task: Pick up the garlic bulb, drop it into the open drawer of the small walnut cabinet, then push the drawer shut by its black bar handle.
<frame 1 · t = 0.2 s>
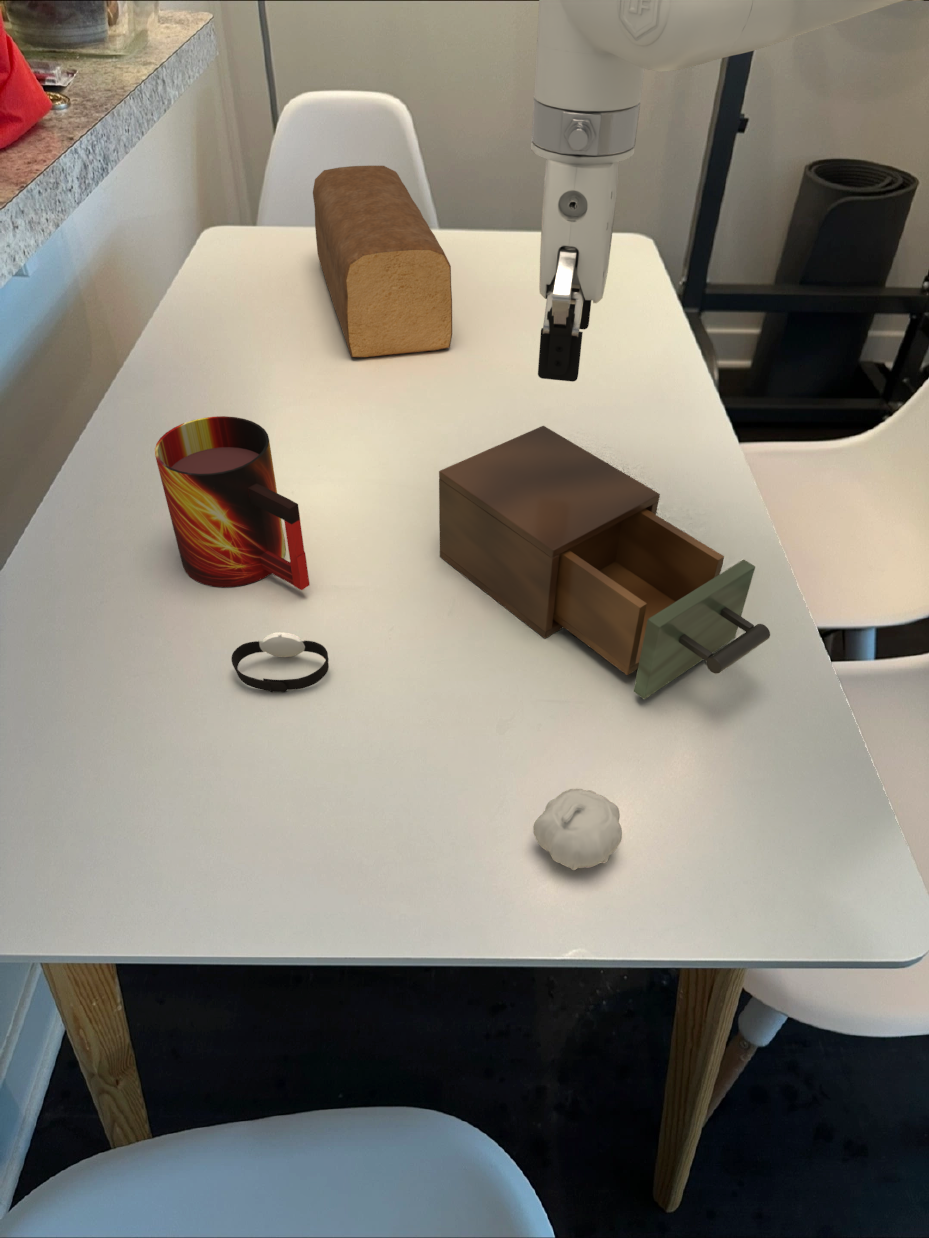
hand: (564, 351, 77), 19 cm above the table, tool pointing down, fingers open, 9 cm apart
mug: (255, 559, 86), on the table
cabinet: (540, 568, 85), on the table
watch: (283, 676, 75), on the table
bread: (380, 305, 130), on the table
garlic: (576, 850, 63), on the table
drawer: (655, 602, 75), point 5 cm above the table, slide at 9.5 cm
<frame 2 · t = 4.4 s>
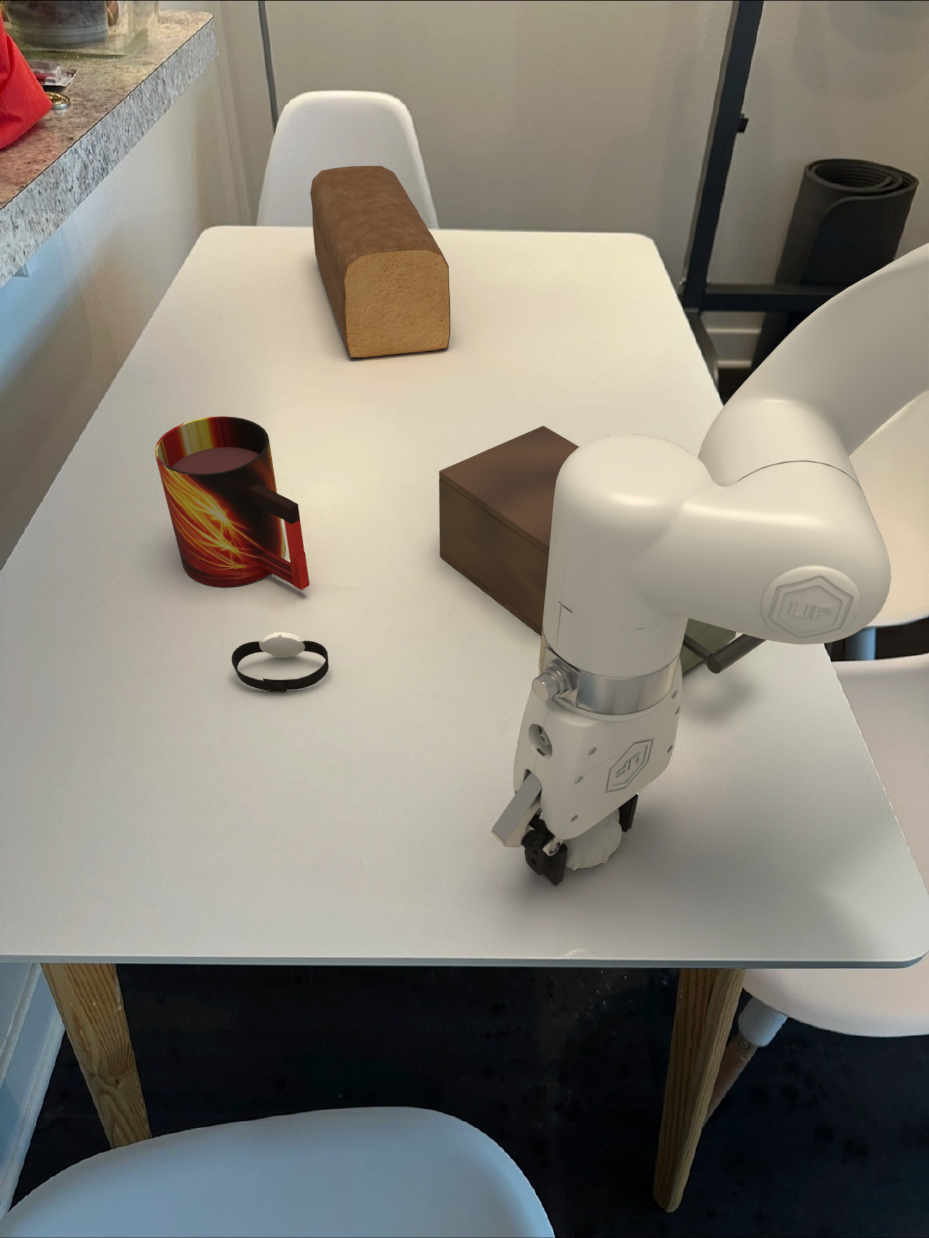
hand: (578, 841, 62), 1 cm above the table, tool pointing down, fingers closed on garlic, 5 cm apart
garlic: (575, 850, 63), on the table, touching gripper
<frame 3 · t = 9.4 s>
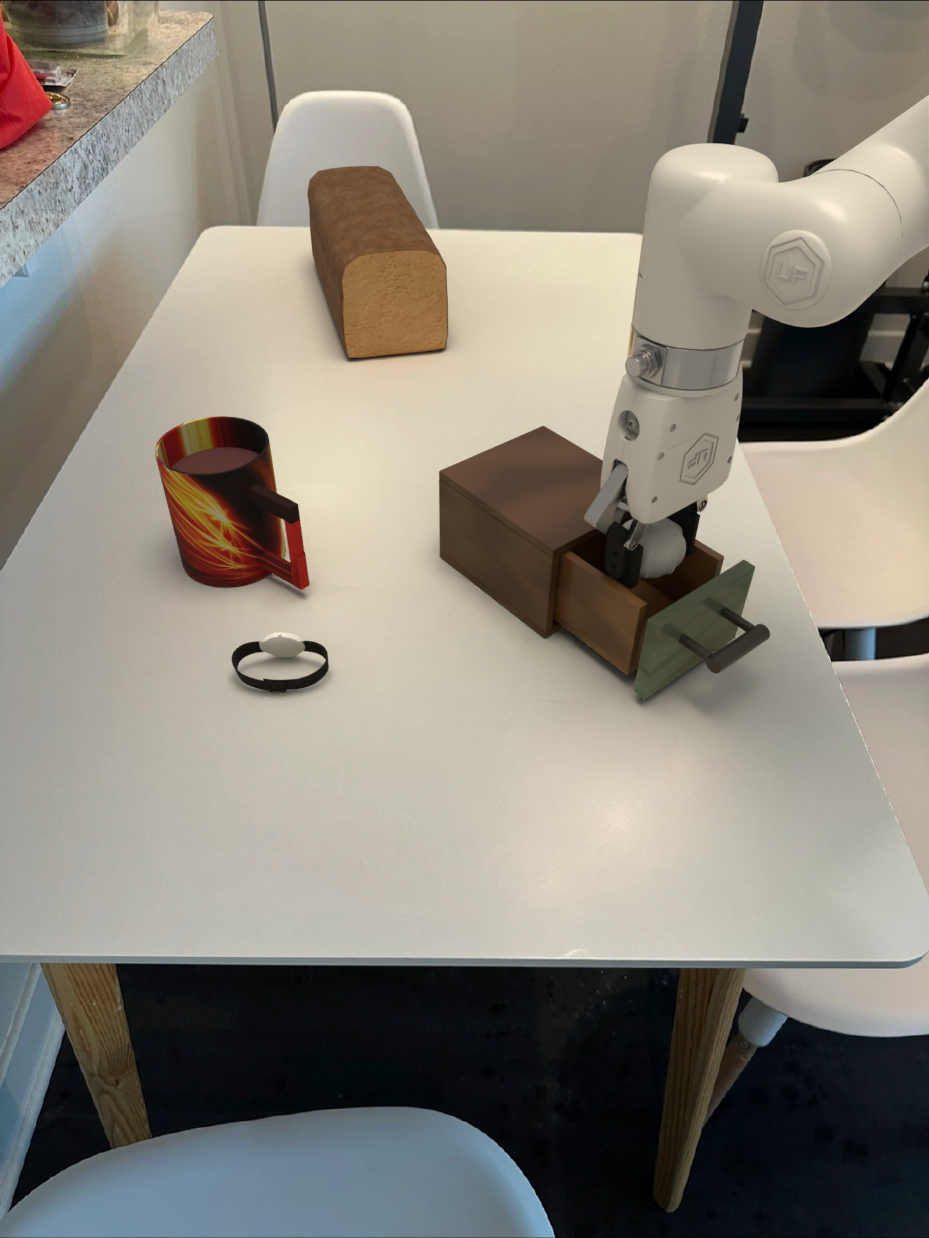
hand: (648, 561, 73), 8 cm above the table, tool pointing down, fingers closed on garlic, 5 cm apart
garlic: (645, 571, 74), point 7 cm above the table, touching gripper
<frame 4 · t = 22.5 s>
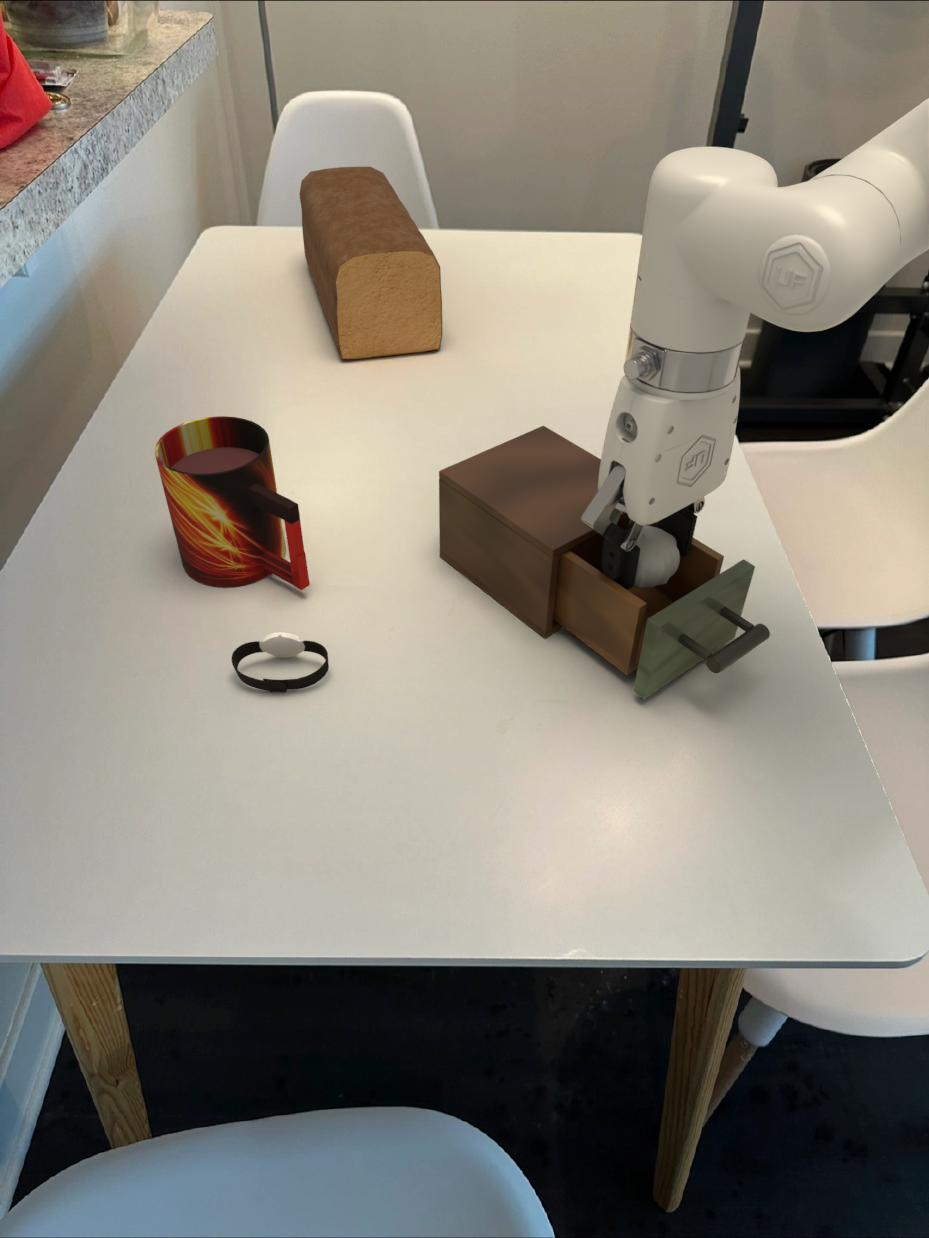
hand: (644, 561, 74), 8 cm above the table, tool pointing down, fingers closed on garlic, 5 cm apart
garlic: (639, 581, 75), point 6 cm above the table, touching gripper
drawer: (655, 602, 75), point 5 cm above the table, slide at 9.5 cm, touching gripper
when the fingers open (9 cm above the table, at t = 23.0 s): garlic drops 5 cm, resting on drawer.
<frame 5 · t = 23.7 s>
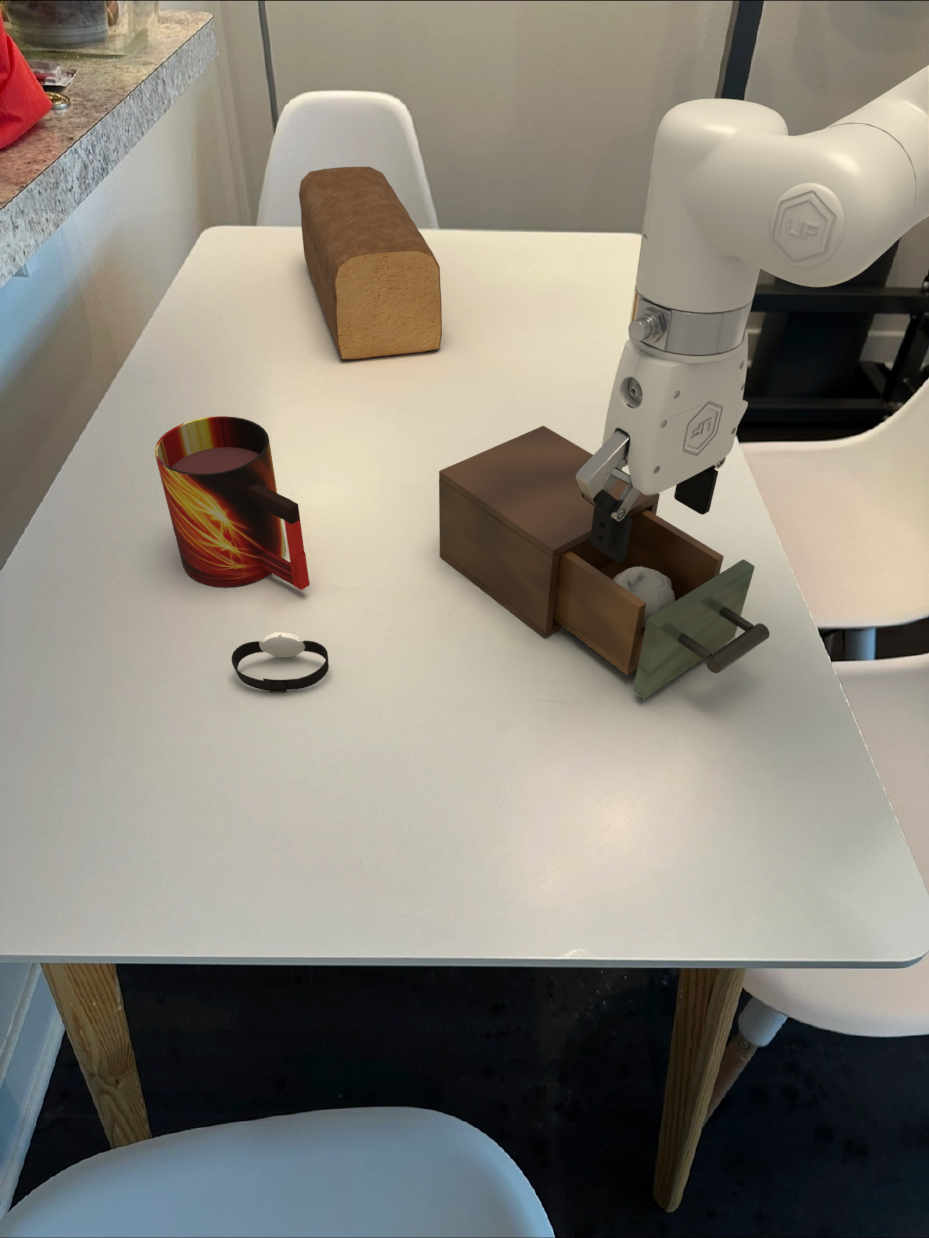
hand: (650, 528, 71), 11 cm above the table, tool pointing down, fingers open, 9 cm apart
garlic: (635, 619, 78), point 2 cm above the table, touching drawer
drawer: (655, 602, 75), point 5 cm above the table, slide at 9.4 cm, touching garlic
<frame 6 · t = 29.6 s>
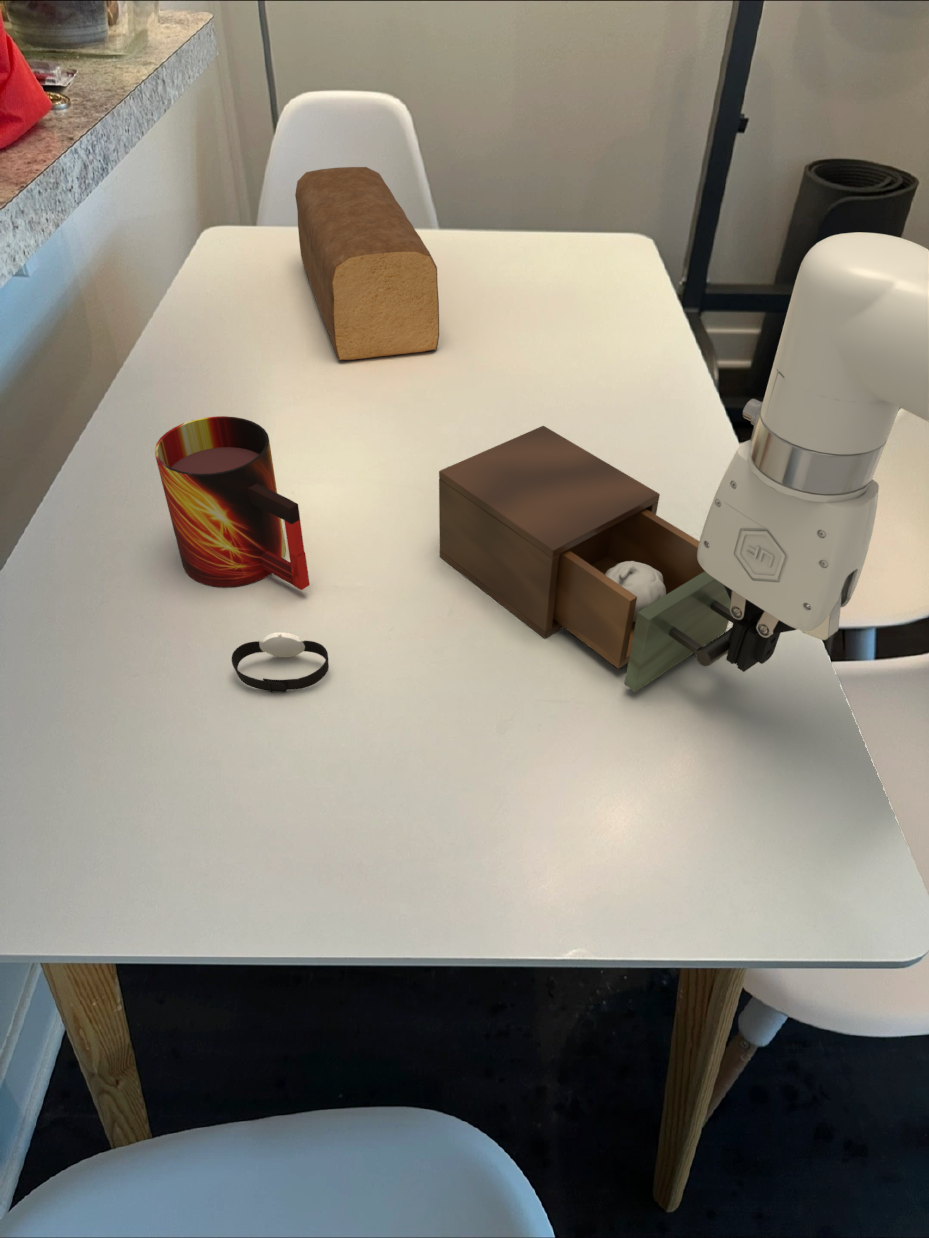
hand: (746, 657, 69), 6 cm above the table, tool pointing down, fingers closed
drawer: (646, 596, 75), point 5 cm above the table, slide at 8.5 cm, touching garlic, gripper
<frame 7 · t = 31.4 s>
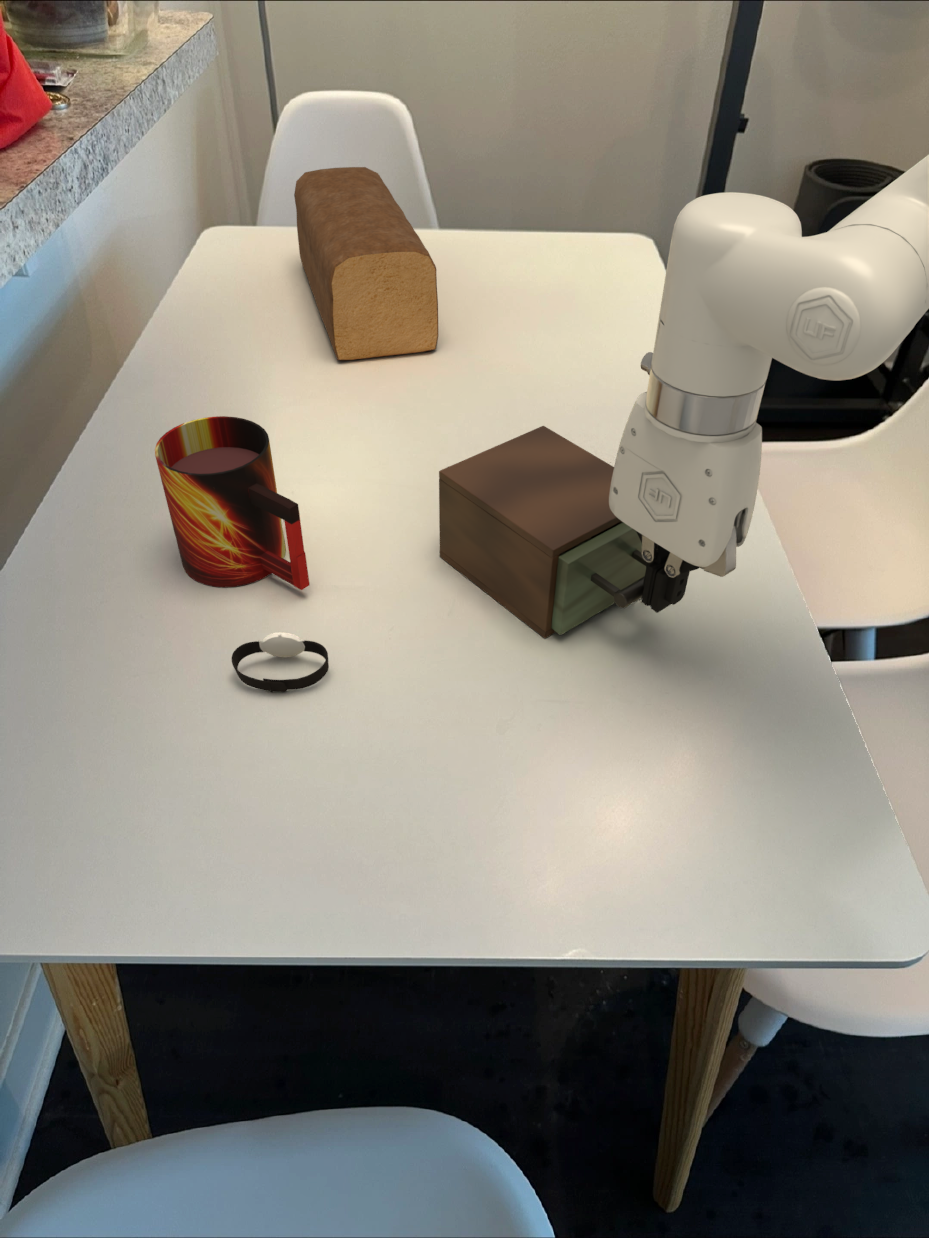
hand: (661, 600, 74), 5 cm above the table, tool pointing down, fingers closed
garlic: (558, 565, 83), point 2 cm above the table, touching drawer
drawer: (574, 547, 80), point 5 cm above the table, slide at 0.0 cm, touching cabinet, garlic, gripper
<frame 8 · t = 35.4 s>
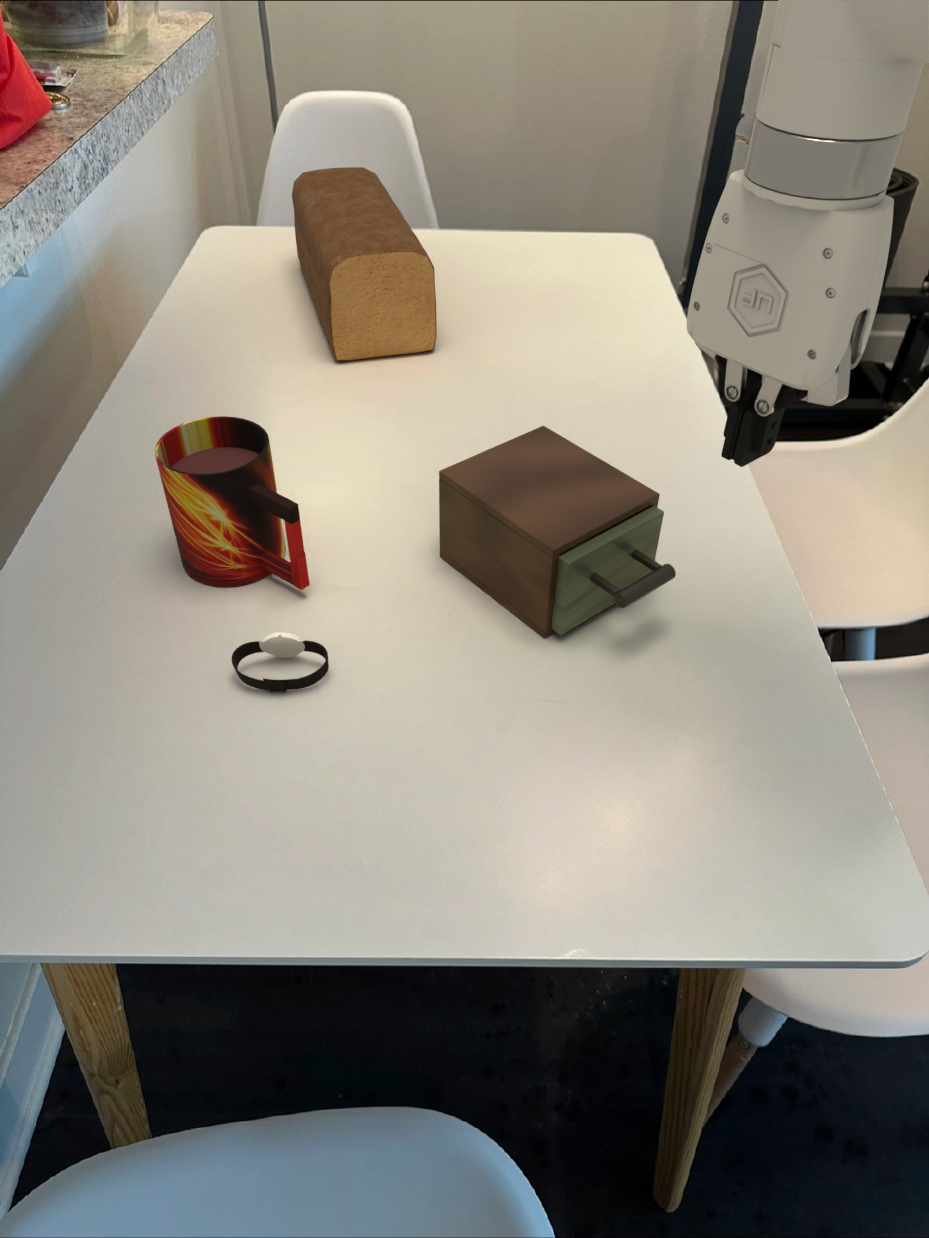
hand: (744, 455, 61), 21 cm above the table, tool pointing down, fingers closed
drawer: (574, 547, 80), point 5 cm above the table, slide at 0.0 cm, touching garlic
at the end: garlic inside the target area in the cabinet (2.2 cm from its centre), point 1.8 cm above the cabinet's base; drawer slide at 0.0 cm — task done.
